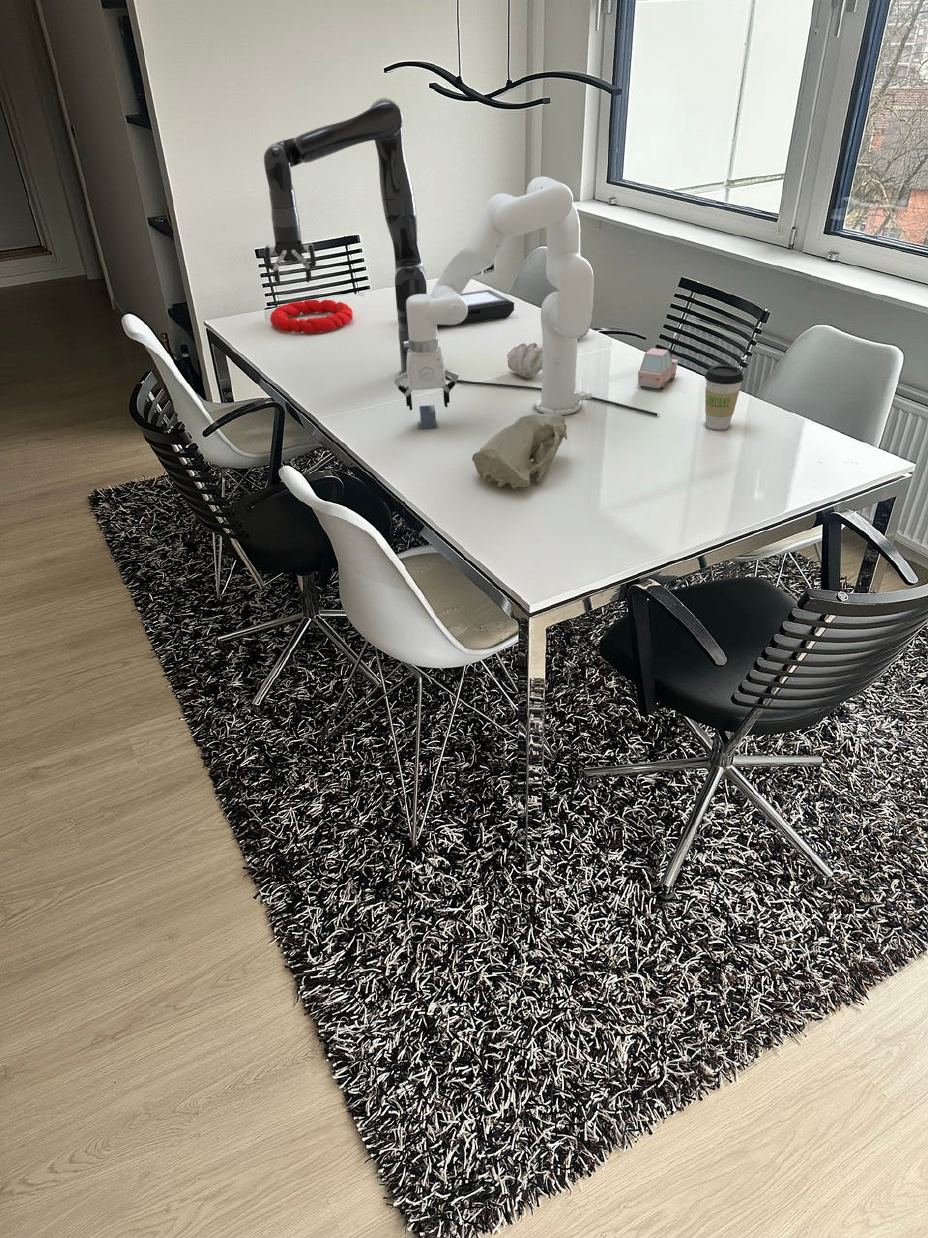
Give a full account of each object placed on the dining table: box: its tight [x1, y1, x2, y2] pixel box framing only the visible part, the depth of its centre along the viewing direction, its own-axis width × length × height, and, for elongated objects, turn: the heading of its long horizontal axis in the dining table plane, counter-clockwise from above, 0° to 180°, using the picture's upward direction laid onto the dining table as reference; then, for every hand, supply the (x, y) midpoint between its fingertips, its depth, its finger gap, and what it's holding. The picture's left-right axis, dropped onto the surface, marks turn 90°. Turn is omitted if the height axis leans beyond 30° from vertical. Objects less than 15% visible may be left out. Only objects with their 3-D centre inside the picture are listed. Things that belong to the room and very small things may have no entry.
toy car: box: [637, 347, 679, 389], centre depth 265 cm, size 9×15×10 cm, turn 149°
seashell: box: [506, 342, 543, 379], centre depth 273 cm, size 10×15×10 cm
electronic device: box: [437, 289, 515, 330], centre depth 327 cm, size 32×6×20 cm
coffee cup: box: [704, 364, 745, 431], centre depth 235 cm, size 10×10×15 cm
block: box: [419, 404, 437, 430], centre depth 244 cm, size 5×4×5 cm
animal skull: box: [471, 412, 568, 490], centre depth 215 cm, size 17×25×20 cm
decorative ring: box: [269, 299, 354, 334], centre depth 328 cm, size 7×30×30 cm
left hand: (293, 282), depth 262 cm, fingers open, 8 cm apart
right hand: (428, 406), depth 243 cm, fingers open, 9 cm apart
